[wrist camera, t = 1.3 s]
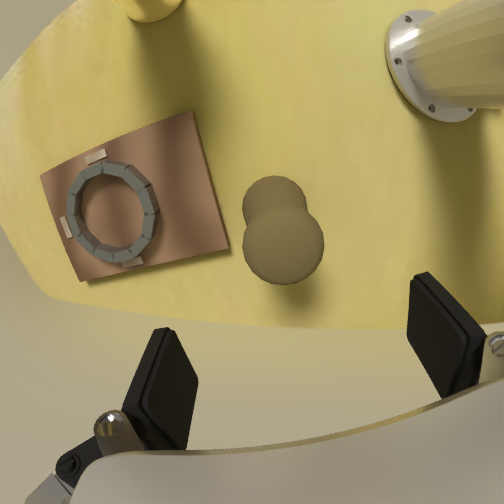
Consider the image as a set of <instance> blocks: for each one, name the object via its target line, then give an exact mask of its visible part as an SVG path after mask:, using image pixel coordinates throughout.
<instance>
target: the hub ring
mask: <svg viewBox="0 0 504 504" xmlns="http://www.w3.org/2000/svg"><path fill="white" fill-rule="evenodd" d="M102 173H105V174H110V175H114V176H118V177H122V178H123V179H124V180H125V181H126V182H127V183H128V184H129V185H130V186H131V187H132V188H133V189H134V190H135V191H136V192H137V194H138V197H139V200H140V203H141V206H142V209H143V212H144V219H143V225H142V231H141V235H140V237H139V238H138V239H137V240H136V241H135V243H133V244H130V245H126V246H122V247H119V248H118V247H114V246H111V245H108V244H105V243H101V242H100V241H99V240H98V239H97V238H96V237H95V236H94V235H93V234H92V233H91V232H90V231H89V230H88V228H87V225H86V223H85V220H84V217H83V214H82V211H81V210H82V199H83V192H84V190H85V189H86V187H87V186H88V184H89V183H90V181H91V180H92V178H93V177H95V176H97V175H99V174H102ZM150 183H151V182H150V181H149V180H148V179H147V178H146V177H145V176H144V175H143V174H142V173H141V172H140V171H139V170H138V169H137V168H136V167H135V166H134V165H133V166H132V164H127V163H123V162H118V161H114V160H106V161H103V162H100V163H97V164H95V165H93V166H91V167H88V168H86V169H84V170H82V171H81V172H80V173H79V174H78V176H77V177H76V179H75V180H74V182H73V184H72V185H71V187H70V188H69V190H68V191H69V192H68V196H67V209H66V215H68V216H66V217H67V219H68V222H69V225H70V228H71V230H72V233H73V235H74V238H76V241H77V242H78V243H79V244H80V245H81V246H82V247H83V248H84V249H85V250H86V251H87V252H88V253H89V254H90V255H91V256H92V255H93V257H96V258H99V259H102V260H105V261H108V262H111V263H113V262H114V263H117V262H121V261H125V260H129V259H133V258H135V257H136V256H137V255H138V254H139V253H140V252H141V251H142V249H143V248H144V247H145V246H146V245H147V244H148V243H149V242H150V240H151V239H152V238H153V237H154V236H155V234H156V229H157V223H158V218H159V212H160V210H159V209H160V208H159V205H158V202H157V198H156V195H155V192H154V189H153V186H152V184H151V185H150Z"/></svg>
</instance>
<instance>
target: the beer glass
mask: <svg viewBox="0 0 504 504" xmlns="http://www.w3.org/2000/svg"><path fill="white" fill-rule="evenodd" d="M111 1H114V2H116V3H118V4H120V5H121V6H122V7H123V9H124V10H125V12H126V14H127V15H128V16H129V17H130V18H131V19H132V20H134V21H137V22H141V23H150V22H155V21H158V20H161V19H163V18H165V17H167V16H169V15H170V14H171V13H173V12H174V11H175V10H176V9H177V8H178V7H179V5H180V4H181V2H182V0H111Z"/></svg>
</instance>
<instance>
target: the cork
mask: <svg viewBox="0 0 504 504" xmlns="http://www.w3.org/2000/svg"><path fill="white" fill-rule="evenodd" d="M242 210H243V215H244V219H245V222H246V225H247V228H246V230H245V232H244V238H243V246H242V249H243V253H244V257H245V260H246V262H247V264H248V265H249V267H250V269H251V270H252V272H253V273H254V274H256V275H257V276H258V277H259V278H260V279H262V280H264V281H266V282H269V283H271V284H278V285H288V284H294V283H297V282H299V281H301V280H304V279H306V278H307V277H308V276H309V275H311V274H312V273H313V272H314V271H315V270H316V268H317V267H318V265H319V263H320V262H321V260H322V256H323V252H324V238H323V232H322V230H321V228H320V226H319V224H318V222H317V221H316V220H315V219H314V218H313V217H312V216H311V215H310V214H309V213H308V211H307V204H306V197H305V195H304V193H303V191H302V190H301V188H300V187H299V186H298V185H297V184H296V183H295V182H294V181H292V180H290V179H288V178H286V177H281V176H269V177H264V178H262V179H260V180H258V181H256V182H255V183H254V184H253V185H252V186H251V187H250V188H249V189H248V190H247V192H246V194H245V196H244V198H243V206H242Z"/></svg>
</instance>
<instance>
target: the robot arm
mask: <svg viewBox="0 0 504 504" xmlns="http://www.w3.org/2000/svg"><path fill="white" fill-rule="evenodd" d="M385 53H386V59H387V63H388V67H389V69H390V72H391V75H392V77H393V79H394V81H395V83H396V85H397V86H398V88H399V90H400V91H401V92H402V94H403V95H404V96H405V98H406V99H407V100H408V101H409V102H410V103H411V104H412V105H413V106H414V107H415V108H416V109H417V110H419V111H420V112H421V113H423V114H424V115H426V116H428V117H430V118H432V119H435V120H438V121H441V122H460V121H463V120H466V119H467V118H469V117H470V116H472V115H473V113H474V112H475V111H476V110H477V108H491V109H504V0H463V1H461V2H459V3H456V4H454V5H452V6H450V7H448V8H446V9H444V10H442V11H440V12H438V13H435V12H433V11H429V10H425V9H414V10H410V11H407V12H405V13H403V14H401V15H400V16H398V17H397V18H396V19H394V21H393V22H392V23H391V25H390V26H389V29H388V31H387V34H386V40H385ZM394 61H395V62H396V64H395V62H394ZM428 107H429V109H428ZM407 338H408V341H409V343H410V344H411V346H412V348H413V349H414V351H415V353H416V354H417V356H418V358H419V360H420V361H421V363H422V365H423V366H424V368H425V370H426V372H427V373H428V375H429V377H430V379H431V381H432V382H433V384H434V386H435V388H436V389H437V391H438V393H439V395H440V397H441V398H442V400H439V401H436V402H434V403H431V404H429V405H426V406H423V407H421V408H418V409H415V410H413V411H410V412H407V413H404V414H402V415H398V416H395V417H392V418H389V419H386V420H383V421H380V422H376V423H373V424H369V425H366V426H362V427H358V428H354V429H350V430H347V431H342V432H338V433H334V434H329V435H325V436H320V437H315V438H309V439H304V440H298V441H292V442H286V443H279V444H272V445H263V446H255V447H244V448H231V449H212V450H186V448H187V442H188V436H189V431H190V426H191V420H192V415H193V409H194V404H195V399H196V393H197V388H198V377H197V375H196V373H195V371H194V369H193V367H192V365H191V363H190V361H189V359H188V357H187V355H186V353H185V351H184V349H183V347H182V345H181V343H180V341H179V339H178V337H177V334H176V333H175V331H174V330H171V329H170V328H168V327H166V328H159V329H155V330H154V331H153V334H152V335H151V338H150V340H149V342H148V345H147V347H146V349H145V351H144V354H143V356H142V358H141V361H140V363H139V366H138V368H137V370H136V373H135V375H134V378H133V380H132V382H131V385H130V387H129V390H128V392H127V395H126V397H125V400H124V402H123V407H122V409H121V411H119V410H111V411H108V412H105V413H104V414H102V415H101V416H100V417H99V418H98V419H97V421H96V422H95V424H94V429H93V430H94V434H95V436H93V437H92V438H90V439H88V440H86V441H85V442H83V443H82V444H80V445H78V446H77V447H75V448H73V449H72V450H70V451H68V452H67V453H65V454H63V456H61V457H60V458H59V460H58V461H57V464H56V469H55V470H56V474H55V475H54V474H52V473H51V474H50V475H49V476H48V477H47V478H46V479H45V480H44V481H43V482H42V484H40V485H39V486H38V487H37V488H36V489H35V490H34V491H33V492H32V493H31V494H30V495H29V496H28V497H27V499H26V500H25V504H504V332H494V333H492V334H490V335H489V336H487V335H486V334H485V332H484V330H483V329H482V328H481V327H480V326H479V324H478V323H477V322H476V321H475V320H474V319H473V318H472V317H471V316H470V314H469V313H468V312H467V311H466V310H465V309H464V308H463V307H462V306H461V305H460V304H459V303H458V302H457V300H456V299H455V298H454V297H453V296H452V295H451V294H450V293H449V292H448V291H447V290H446V289H445V288H444V287H443V286H442V285H441V284H440V283H439V282H438V281H437V280H436V279H435V278H434V277H433V276H432V275H431V274H430V273H429V272H424V273H421V274H417V275H415V276H414V278H413V280H411V281H410V295H409V311H408V324H407Z"/></svg>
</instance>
